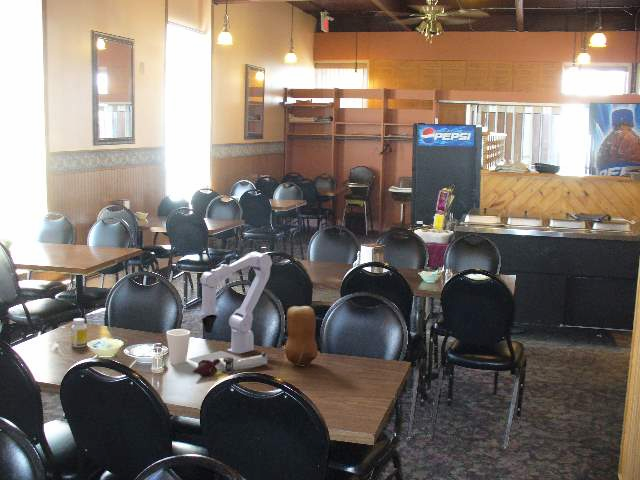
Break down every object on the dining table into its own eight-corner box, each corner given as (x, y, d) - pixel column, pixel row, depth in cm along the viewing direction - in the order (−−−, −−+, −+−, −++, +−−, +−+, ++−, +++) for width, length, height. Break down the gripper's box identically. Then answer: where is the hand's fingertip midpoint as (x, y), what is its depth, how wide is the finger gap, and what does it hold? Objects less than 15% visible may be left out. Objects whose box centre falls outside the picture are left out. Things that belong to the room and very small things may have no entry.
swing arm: (226, 371, 305) (226, 360, 305) (221, 368, 308) (221, 358, 308) (268, 364, 317) (268, 353, 316) (262, 361, 320) (263, 351, 319)
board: (221, 352, 335) (221, 350, 335) (262, 366, 318) (262, 365, 318) (187, 360, 322) (187, 359, 322) (229, 375, 305) (229, 374, 305)
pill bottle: (90, 345, 338) (90, 319, 336) (78, 348, 332) (78, 322, 331) (80, 342, 341) (79, 316, 340) (68, 345, 336) (67, 319, 334)
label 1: (232, 363, 319) (232, 361, 319) (222, 363, 317) (222, 362, 317) (228, 358, 324) (228, 357, 324) (218, 359, 323) (218, 358, 323)
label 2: (236, 367, 313) (236, 366, 313) (226, 368, 312) (226, 367, 312) (231, 363, 319) (232, 361, 319) (222, 363, 317) (222, 362, 317)
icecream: (202, 367, 294) (227, 361, 306) (188, 359, 297) (213, 353, 310) (197, 384, 295) (222, 377, 308) (183, 375, 299) (208, 369, 311)
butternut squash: (295, 358, 331) (297, 300, 327) (323, 364, 324) (325, 305, 320) (277, 366, 319) (279, 306, 315) (305, 372, 312) (308, 312, 309)
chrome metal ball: (228, 370, 312) (228, 359, 311) (236, 373, 308) (237, 362, 308) (219, 372, 308) (219, 362, 307) (227, 375, 305) (227, 364, 304)
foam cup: (184, 367, 313) (184, 336, 311) (162, 365, 315) (163, 334, 313) (192, 360, 322) (193, 330, 320) (171, 358, 324) (172, 328, 322)
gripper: (208, 305, 317) (207, 337, 319) (226, 298, 330) (225, 329, 332) (193, 303, 320) (192, 335, 322) (211, 296, 333) (211, 327, 335)
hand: (208, 332), depth 327 cm, fingers closed
